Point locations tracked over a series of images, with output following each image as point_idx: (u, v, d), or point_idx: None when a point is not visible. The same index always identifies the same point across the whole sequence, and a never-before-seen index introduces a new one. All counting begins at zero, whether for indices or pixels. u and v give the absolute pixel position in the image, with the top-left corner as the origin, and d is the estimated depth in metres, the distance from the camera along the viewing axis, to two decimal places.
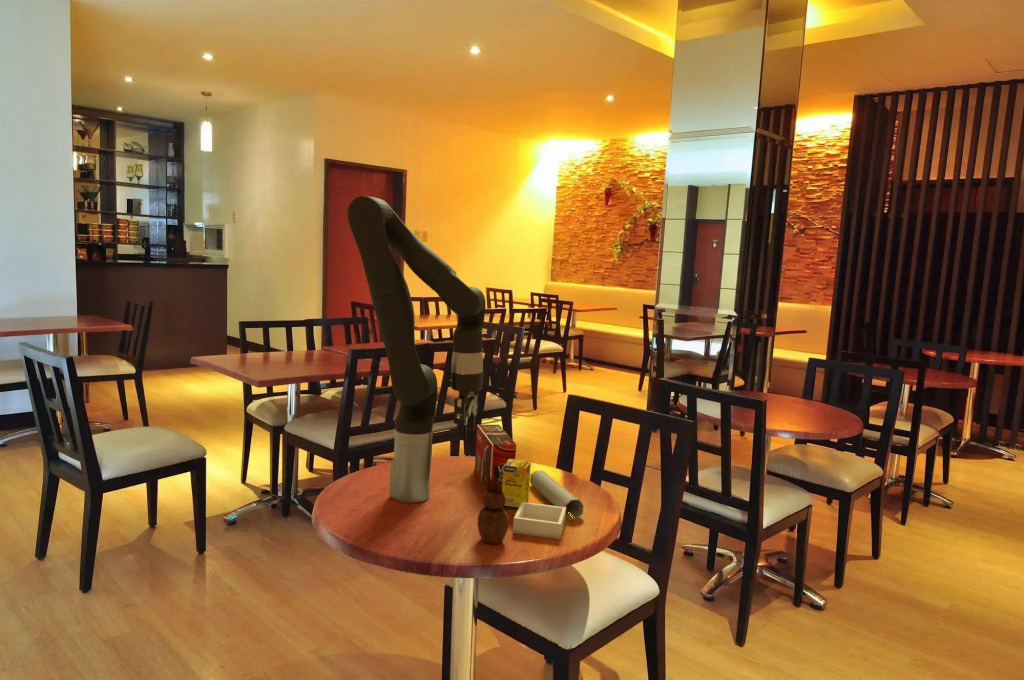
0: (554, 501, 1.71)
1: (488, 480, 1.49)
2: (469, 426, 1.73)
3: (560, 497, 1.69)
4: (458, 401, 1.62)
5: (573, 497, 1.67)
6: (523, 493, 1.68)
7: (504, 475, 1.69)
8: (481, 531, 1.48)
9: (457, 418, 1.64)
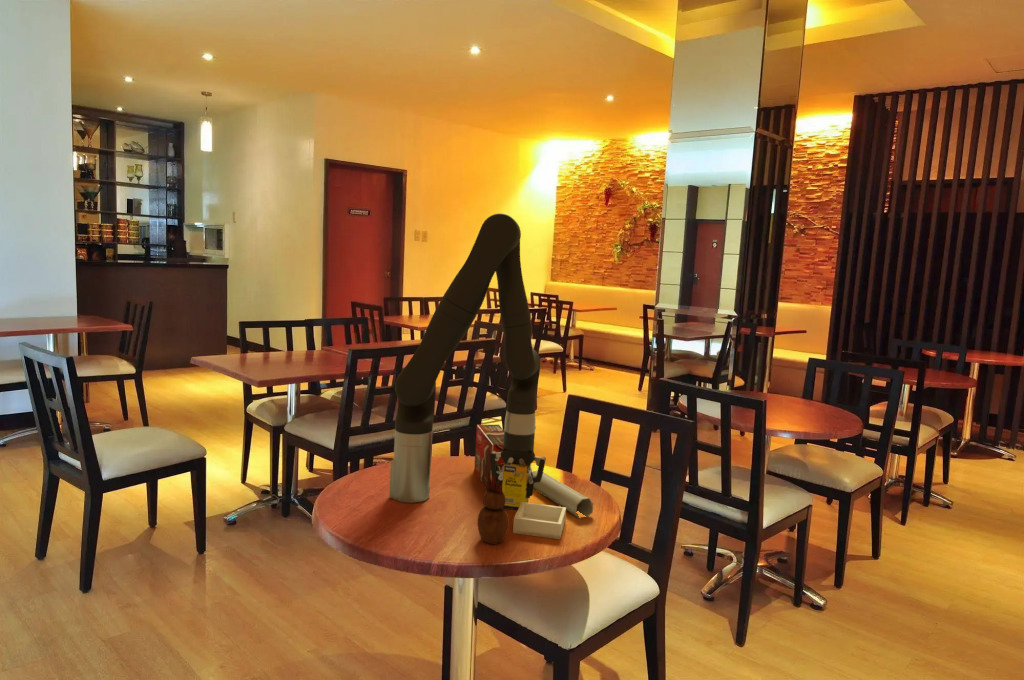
0: (562, 501, 1.71)
1: (488, 480, 1.49)
2: None
3: (568, 497, 1.70)
4: (544, 461, 1.69)
5: (582, 496, 1.68)
6: (523, 493, 1.68)
7: (504, 475, 1.69)
8: (481, 531, 1.48)
9: (532, 478, 1.69)
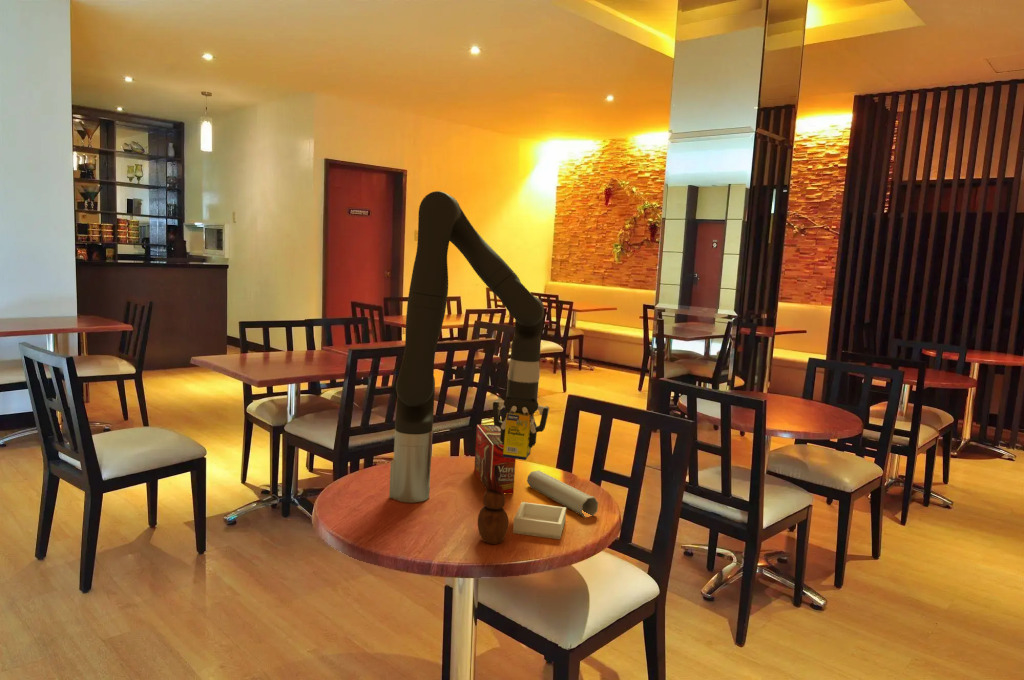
0: (566, 501, 1.71)
1: (488, 480, 1.49)
2: None
3: (572, 496, 1.70)
4: (548, 410, 1.67)
5: (587, 495, 1.69)
6: (526, 442, 1.66)
7: (507, 424, 1.67)
8: (481, 531, 1.48)
9: (535, 427, 1.68)
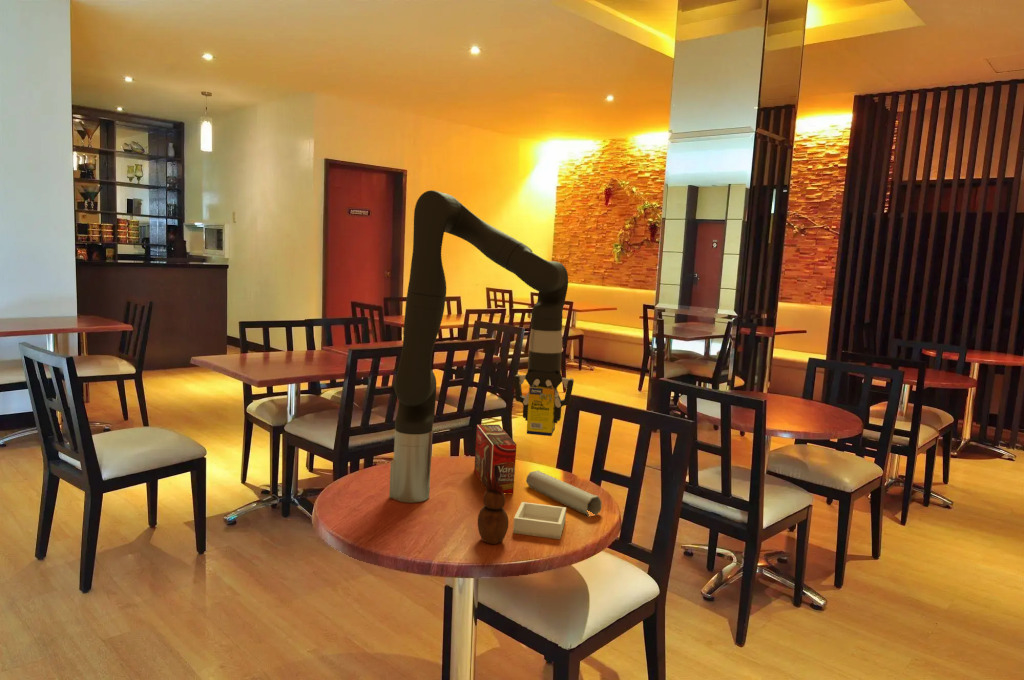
0: (569, 500, 1.72)
1: (488, 480, 1.49)
2: None
3: (576, 496, 1.71)
4: (573, 382, 1.57)
5: (591, 495, 1.70)
6: (551, 417, 1.56)
7: (530, 398, 1.57)
8: (481, 531, 1.48)
9: (560, 401, 1.58)
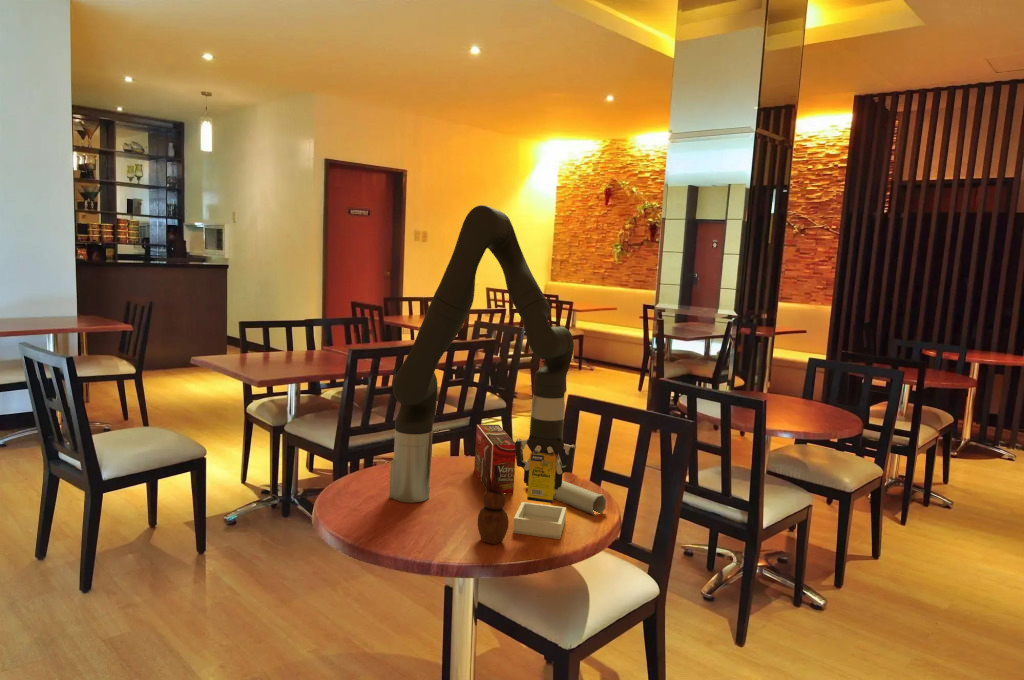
0: (573, 500, 1.72)
1: (488, 480, 1.49)
2: None
3: (580, 495, 1.71)
4: None
5: (595, 493, 1.71)
6: (552, 484, 1.55)
7: (531, 464, 1.55)
8: (481, 531, 1.48)
9: (561, 467, 1.56)
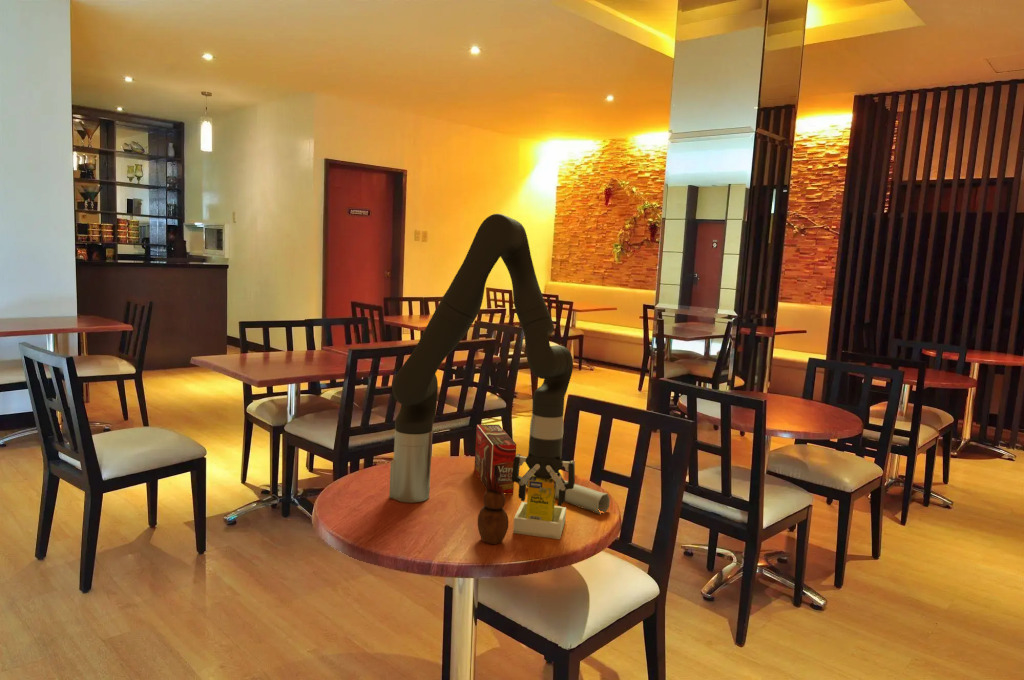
0: (577, 499, 1.73)
1: (488, 480, 1.49)
2: (524, 494, 1.59)
3: (584, 494, 1.72)
4: (574, 464, 1.56)
5: (599, 492, 1.72)
6: (550, 510, 1.56)
7: (529, 491, 1.56)
8: (481, 531, 1.48)
9: (563, 484, 1.56)
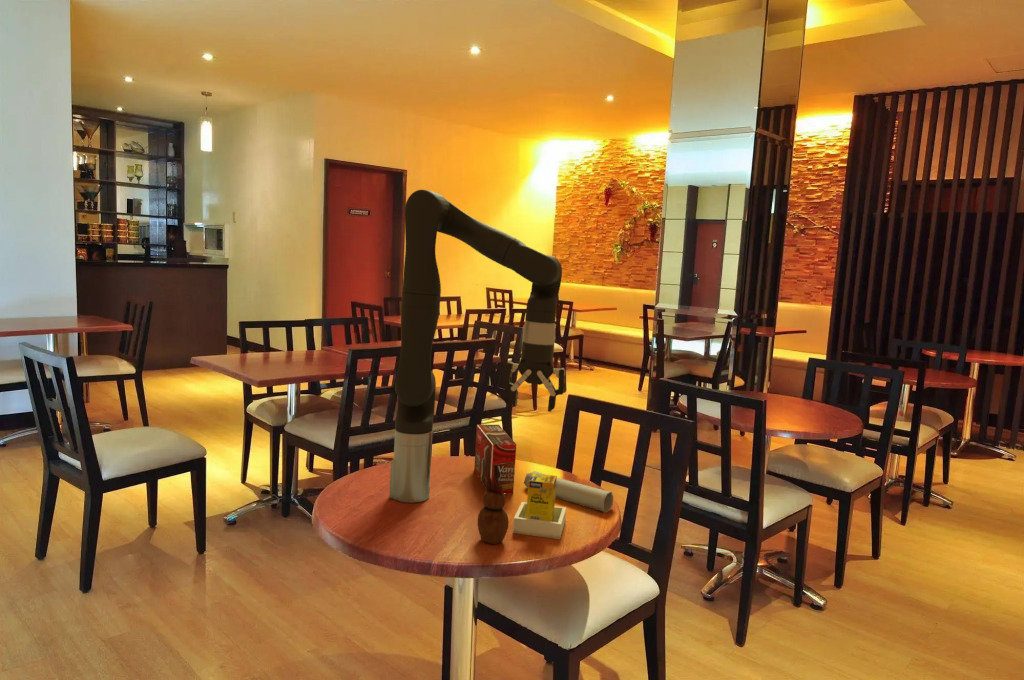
0: (581, 498, 1.74)
1: (488, 480, 1.49)
2: (516, 400, 1.64)
3: (589, 493, 1.73)
4: (564, 371, 1.61)
5: (603, 491, 1.73)
6: (550, 510, 1.56)
7: (529, 491, 1.56)
8: (481, 531, 1.48)
9: (553, 389, 1.61)
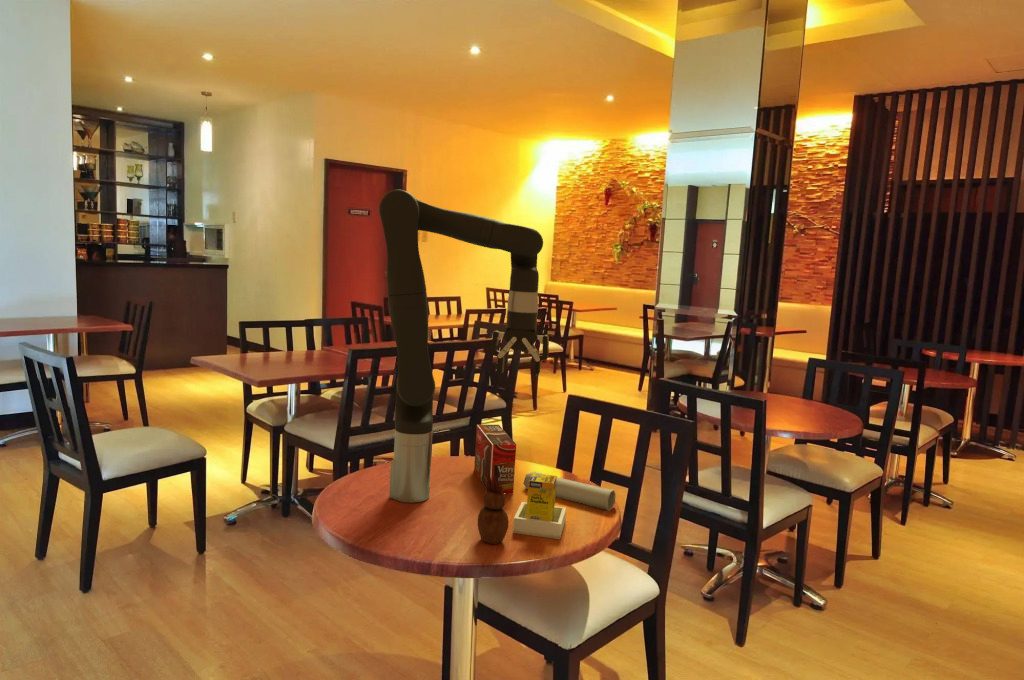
0: (584, 497, 1.75)
1: (488, 480, 1.49)
2: (503, 367, 1.74)
3: (592, 492, 1.74)
4: (547, 337, 1.71)
5: (606, 489, 1.74)
6: (550, 510, 1.56)
7: (529, 491, 1.56)
8: (481, 531, 1.48)
9: (538, 355, 1.71)
